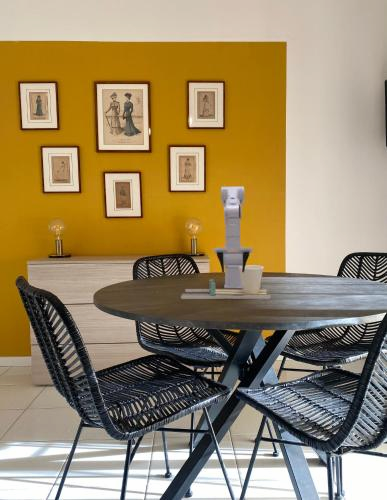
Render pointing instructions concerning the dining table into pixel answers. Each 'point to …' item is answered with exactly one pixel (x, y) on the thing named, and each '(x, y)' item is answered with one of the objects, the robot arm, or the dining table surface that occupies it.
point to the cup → (251, 278)
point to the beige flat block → (232, 290)
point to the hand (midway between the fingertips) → (233, 272)
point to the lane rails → (222, 296)
